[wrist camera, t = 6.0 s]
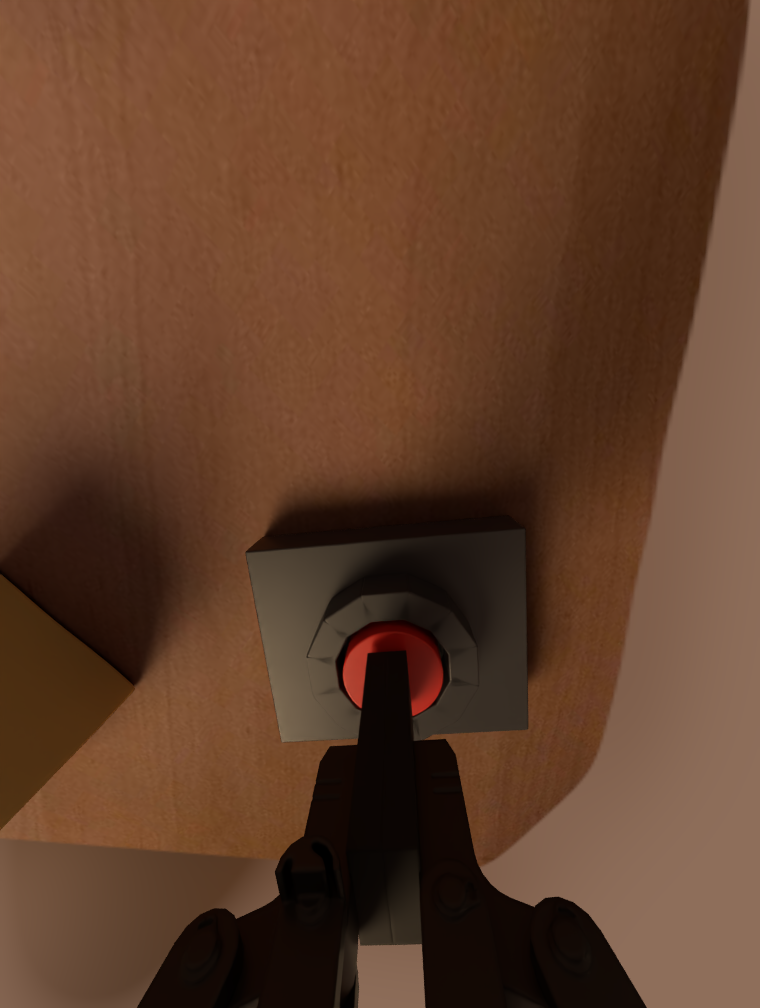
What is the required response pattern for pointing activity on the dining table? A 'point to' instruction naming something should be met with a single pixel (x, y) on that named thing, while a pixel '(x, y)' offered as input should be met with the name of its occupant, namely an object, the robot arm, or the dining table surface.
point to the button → (396, 637)
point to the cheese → (45, 697)
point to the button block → (395, 596)
